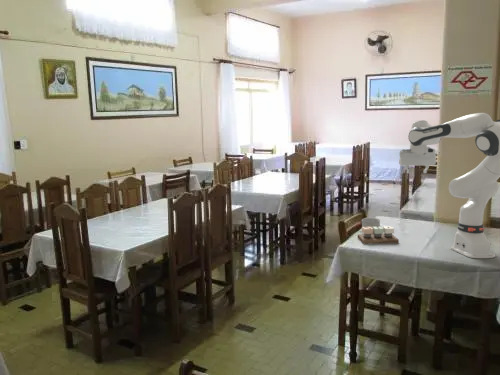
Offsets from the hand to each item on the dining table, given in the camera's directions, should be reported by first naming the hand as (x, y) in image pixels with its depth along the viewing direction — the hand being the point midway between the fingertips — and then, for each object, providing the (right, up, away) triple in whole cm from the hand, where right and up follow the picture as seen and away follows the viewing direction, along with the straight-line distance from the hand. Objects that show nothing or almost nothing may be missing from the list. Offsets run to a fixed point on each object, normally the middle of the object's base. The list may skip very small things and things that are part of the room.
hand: (416, 173), depth 253 cm
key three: (-29, -36, -2) cm, 46 cm away
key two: (-23, -36, -1) cm, 43 cm away
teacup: (-22, -36, +17) cm, 45 cm away
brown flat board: (-23, -39, -1) cm, 45 cm away
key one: (-17, -36, -1) cm, 40 cm away
